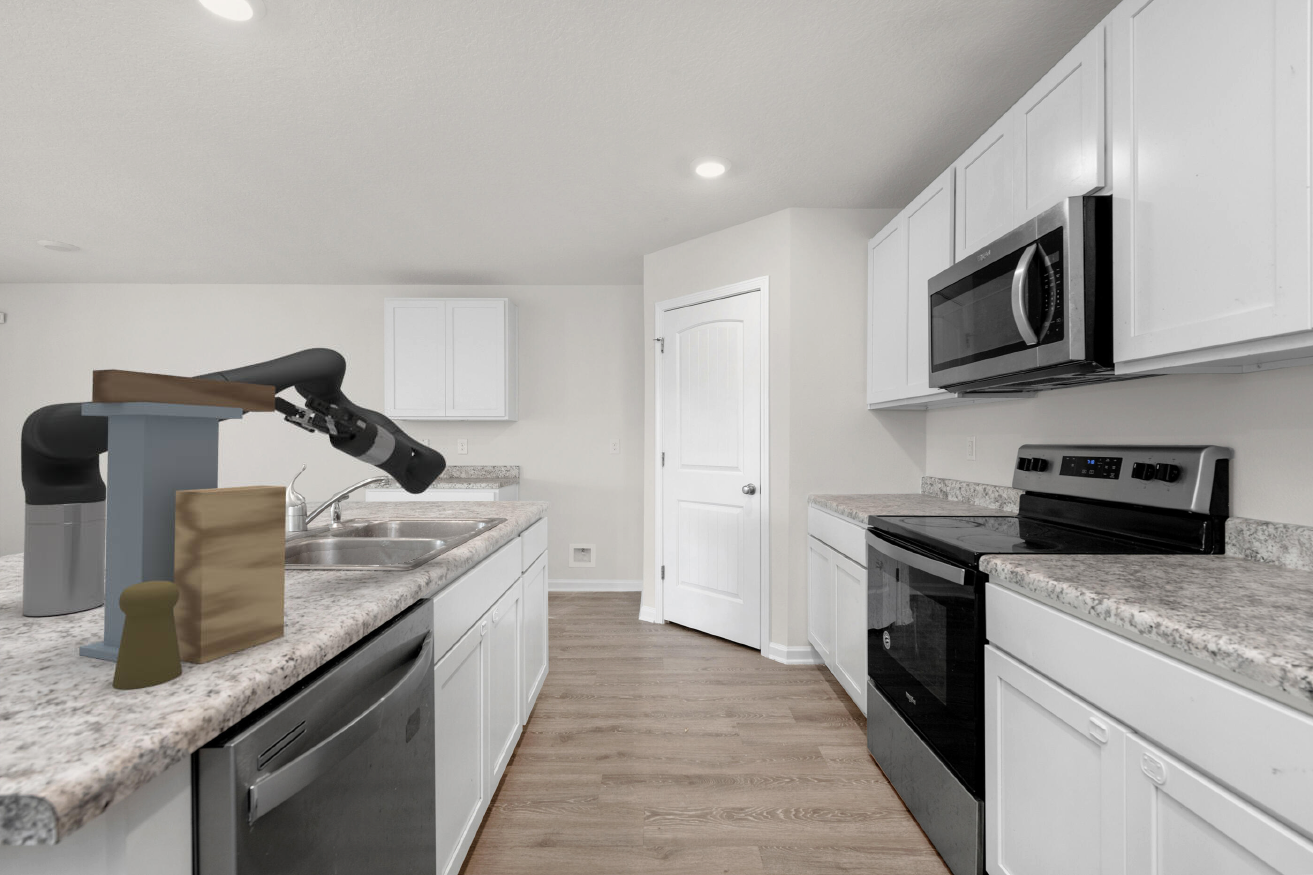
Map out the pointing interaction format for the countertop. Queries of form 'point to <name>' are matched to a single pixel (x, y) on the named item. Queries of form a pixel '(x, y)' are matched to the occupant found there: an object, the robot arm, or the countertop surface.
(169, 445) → the blue grey stand
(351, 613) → the countertop surface
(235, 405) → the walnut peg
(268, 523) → the oak post
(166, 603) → the cork
